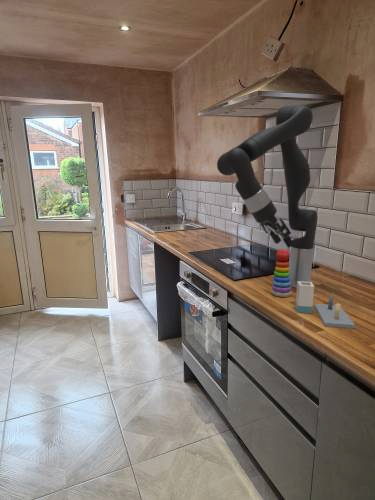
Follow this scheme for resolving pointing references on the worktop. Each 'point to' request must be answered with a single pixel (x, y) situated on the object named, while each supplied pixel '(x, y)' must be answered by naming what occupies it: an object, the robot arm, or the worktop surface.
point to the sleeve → (304, 297)
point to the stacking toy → (282, 275)
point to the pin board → (333, 315)
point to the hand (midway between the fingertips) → (284, 243)
